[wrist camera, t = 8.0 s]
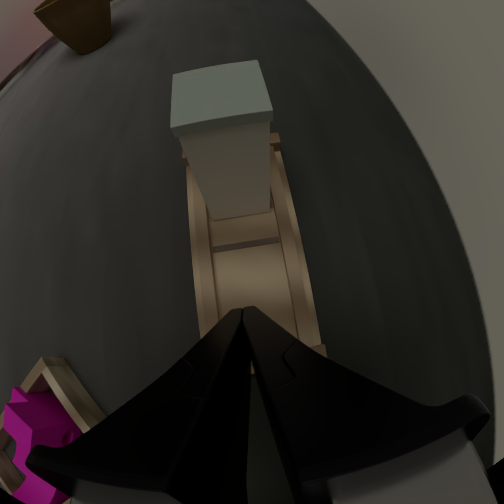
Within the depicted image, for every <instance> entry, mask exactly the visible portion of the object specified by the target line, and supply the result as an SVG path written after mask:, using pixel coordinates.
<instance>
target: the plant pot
mask: <svg viewBox="0 0 504 504" xmlns="http://www.w3.org/2000/svg"><path fill="white" fill-rule="evenodd" d="M33 13H34V14H35V15H36V17H37V18H38V19H39V20H40V21H41V22H42V23H43V24H44V25H45V26H46V27H47V28H48V30H50V31H51V32H52V33H53V34H54V35H55V36H56V37H57V38H58V39H60V40H61V41H62V42H63V43H65V44H66V45H67V46H69V47H70V48H72V49H73V50H75V51H76V52H78V53H79V54H87V53H90V52H92V51H94V50H96V49H98V48H99V47H101V46H102V45H103V44H105V43H106V42H107V41H108V40H109V39H110V37H111V11H110V0H45V1H44V2H42V3H41V4H40V5H39V6H37V7H36V8H35V10H34V11H33Z"/></svg>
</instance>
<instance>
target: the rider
mask: <svg viewBox="0 0 504 504" xmlns="http://www.w3.org/2000/svg"><path fill="white" fill-rule="evenodd" d="M270 121H273V109H272V105H271V102H270V99H269V95H268V92H267V89H266V86H265V82H264V79H263V76H262V73H261V70H260V67H259V64H258V61H257V60H253V61H244V62H237V63H230V64H223V65H217V66H212V67H206V68H201V69H196V70H191V71H186V72H182V73H178V74H173V83H172V101H171V127H170V128H171V130H172V133H173V135H174V137H175V138H176V137H178V138H179V140H180V143H181V145H182V148H183V150H184V152H185V155H186V157H187V160H188V162H189V165H190V167H191V169H192V172H193V174H194V177H195V179H196V182H197V184H198V186H199V189H200V191H201V193H202V196H203V198H204V201H205V203H206V205H207V208H208V210H209V212H210V215H211V217H212V219H213V221H214V220H220V219H226V218H232V217H239V216H245V215H251V214H258V213H264V212H270Z"/></svg>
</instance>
